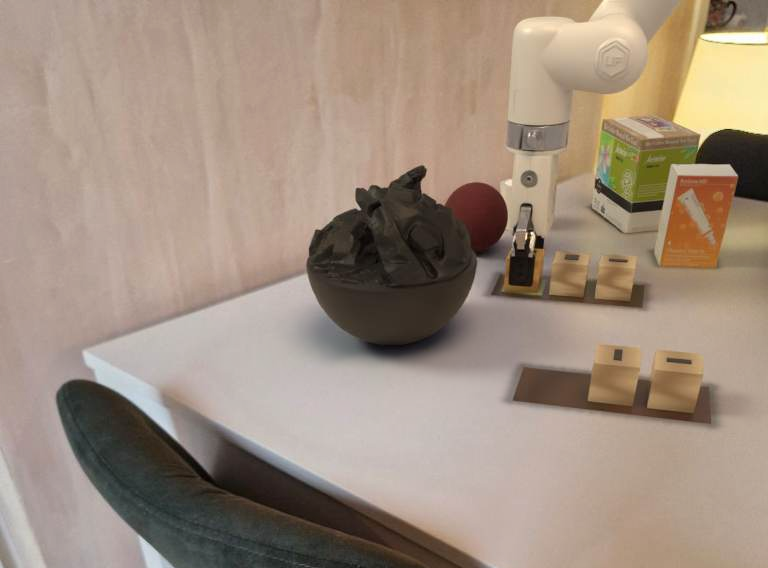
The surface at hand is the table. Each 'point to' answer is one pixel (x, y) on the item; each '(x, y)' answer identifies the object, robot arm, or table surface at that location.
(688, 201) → the small box
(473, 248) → the decorative ball
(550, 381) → the front word board
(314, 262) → the coal bowl
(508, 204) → the shot glass
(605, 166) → the tea box
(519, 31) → the robot arm
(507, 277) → the orange wooden cube
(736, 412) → the table surface
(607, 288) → the board
